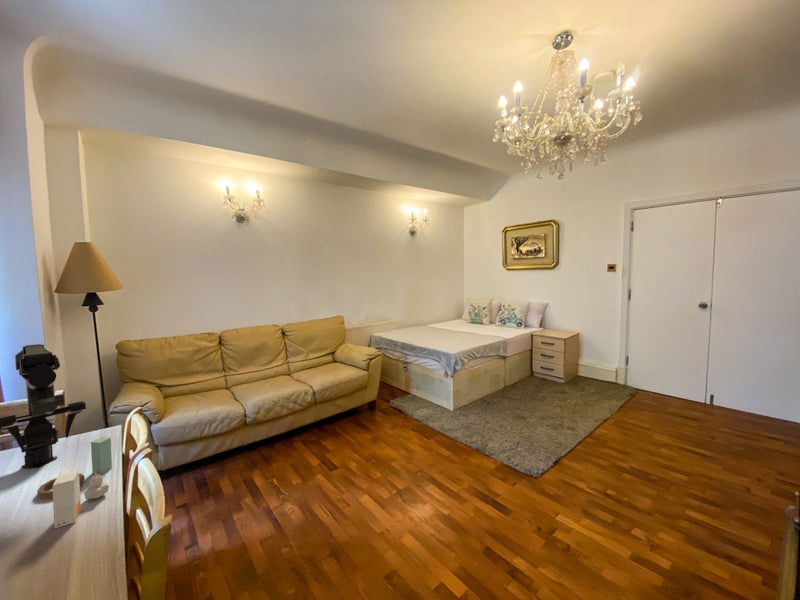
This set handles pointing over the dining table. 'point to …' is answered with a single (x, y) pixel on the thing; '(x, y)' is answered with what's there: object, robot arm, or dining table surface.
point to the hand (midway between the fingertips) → (45, 443)
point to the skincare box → (66, 499)
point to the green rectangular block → (101, 455)
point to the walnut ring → (49, 494)
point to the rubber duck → (96, 487)
